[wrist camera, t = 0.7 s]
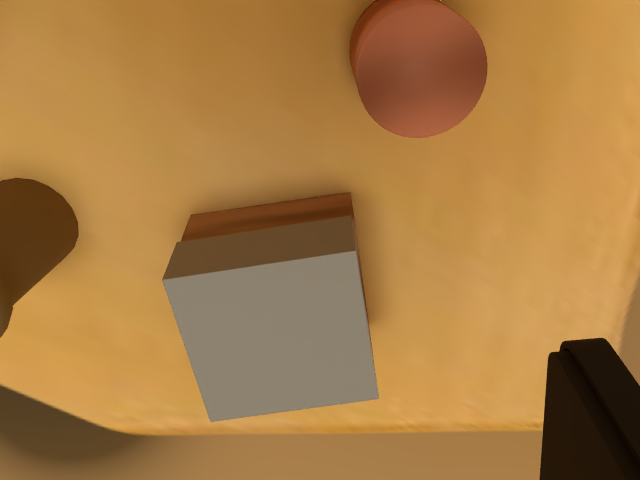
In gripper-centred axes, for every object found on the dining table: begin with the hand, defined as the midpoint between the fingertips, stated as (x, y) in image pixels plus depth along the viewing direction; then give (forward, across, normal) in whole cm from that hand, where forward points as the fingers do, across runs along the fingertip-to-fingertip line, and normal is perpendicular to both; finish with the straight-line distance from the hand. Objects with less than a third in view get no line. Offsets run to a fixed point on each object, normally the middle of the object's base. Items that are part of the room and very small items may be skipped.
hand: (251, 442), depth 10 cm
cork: (+28, +18, +7) cm, 34 cm away
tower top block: (+24, +3, +12) cm, 27 cm away
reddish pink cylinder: (+28, -6, -1) cm, 28 cm away
